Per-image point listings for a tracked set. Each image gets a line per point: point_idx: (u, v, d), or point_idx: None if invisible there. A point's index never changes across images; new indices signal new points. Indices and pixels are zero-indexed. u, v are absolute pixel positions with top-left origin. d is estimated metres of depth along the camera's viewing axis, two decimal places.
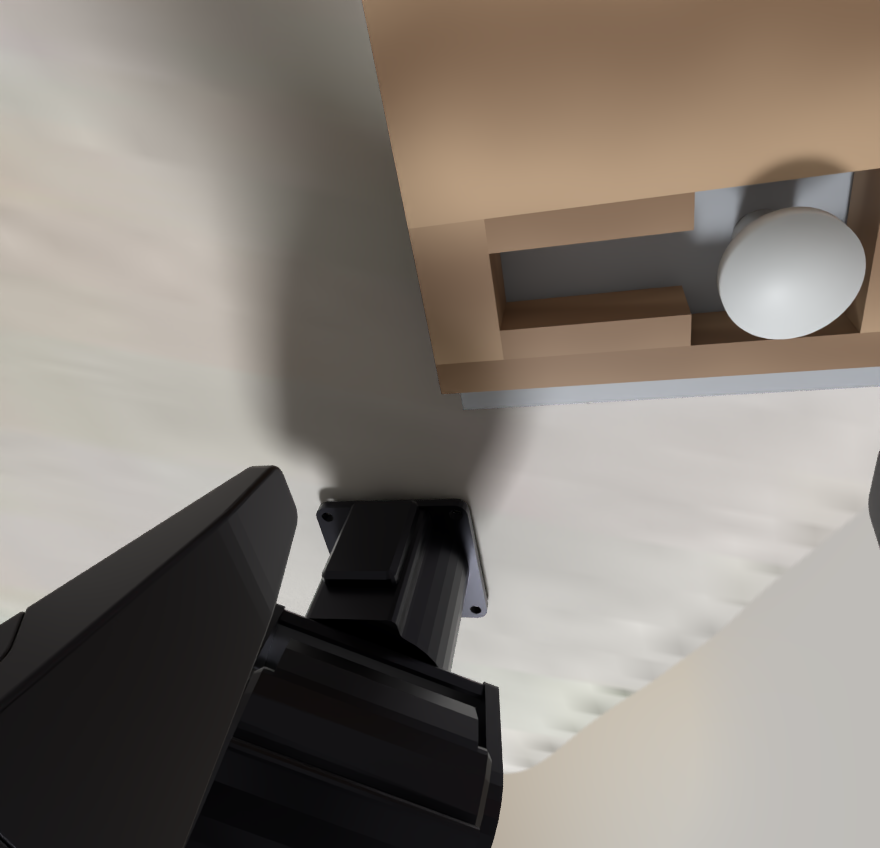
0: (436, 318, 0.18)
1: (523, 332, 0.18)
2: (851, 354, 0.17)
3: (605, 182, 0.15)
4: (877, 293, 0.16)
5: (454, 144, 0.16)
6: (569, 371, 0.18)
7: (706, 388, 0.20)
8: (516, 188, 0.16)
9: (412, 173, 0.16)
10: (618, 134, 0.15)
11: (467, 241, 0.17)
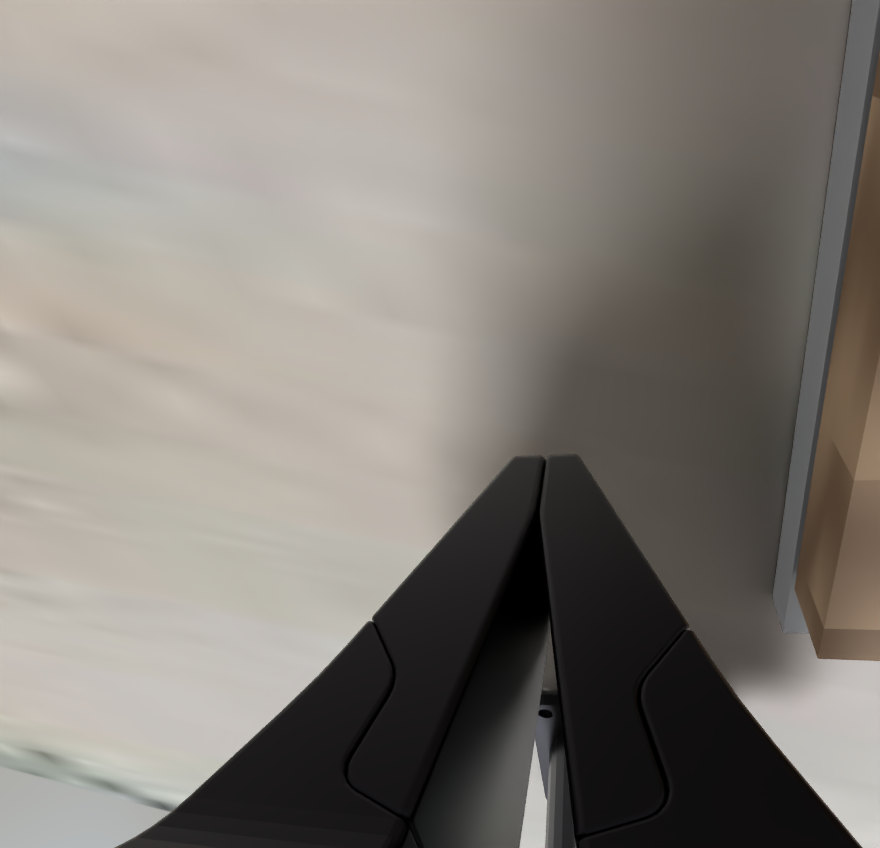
0: (850, 581, 0.13)
1: None
2: None
3: None
4: None
5: None
6: None
7: None
8: None
9: None
10: None
11: None
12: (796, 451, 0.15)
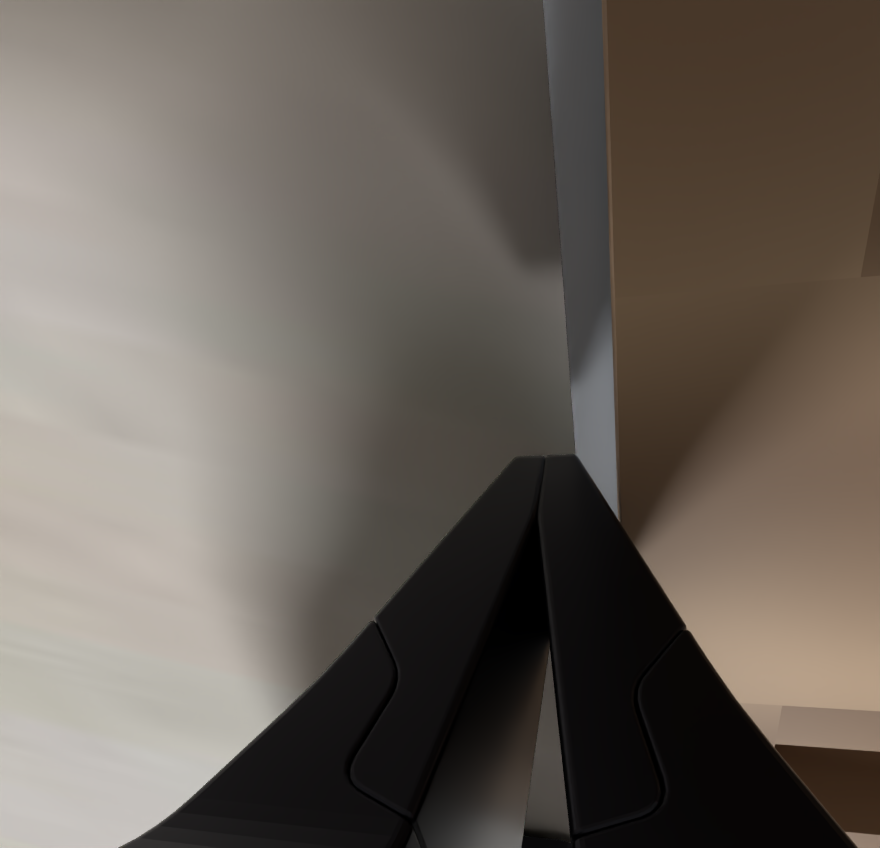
0: None
1: None
2: None
3: None
4: None
5: (757, 609, 0.08)
6: None
7: None
8: (866, 678, 0.08)
9: None
10: None
11: None
12: None
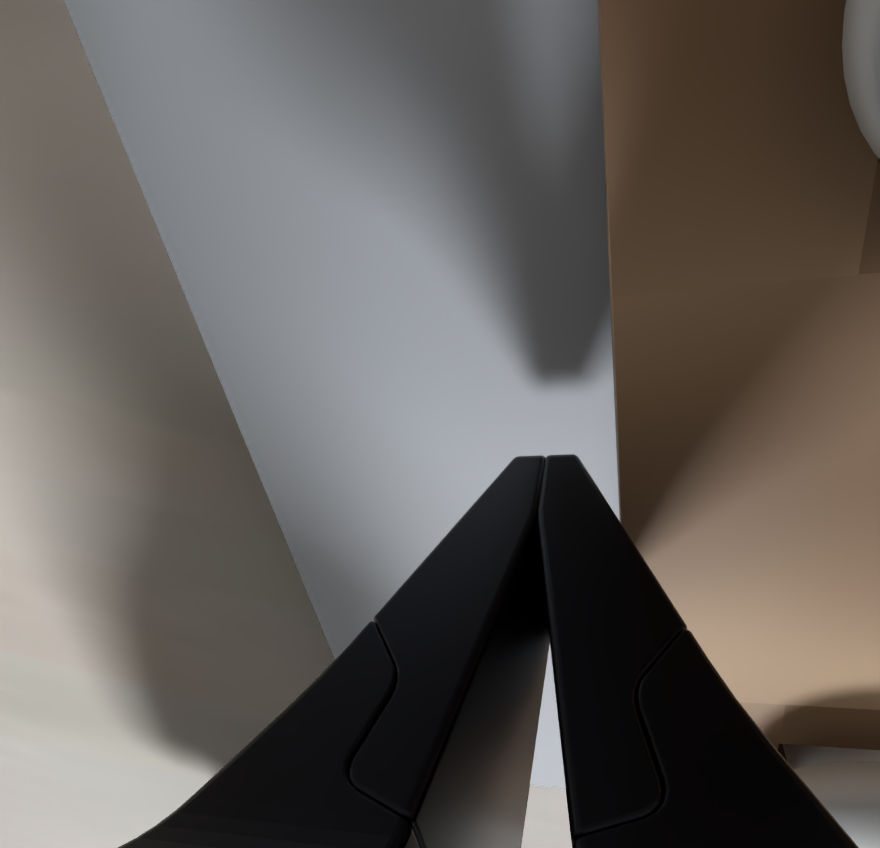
0: None
1: None
2: None
3: None
4: None
5: (759, 609, 0.08)
6: None
7: None
8: (869, 677, 0.08)
9: None
10: None
11: None
12: None
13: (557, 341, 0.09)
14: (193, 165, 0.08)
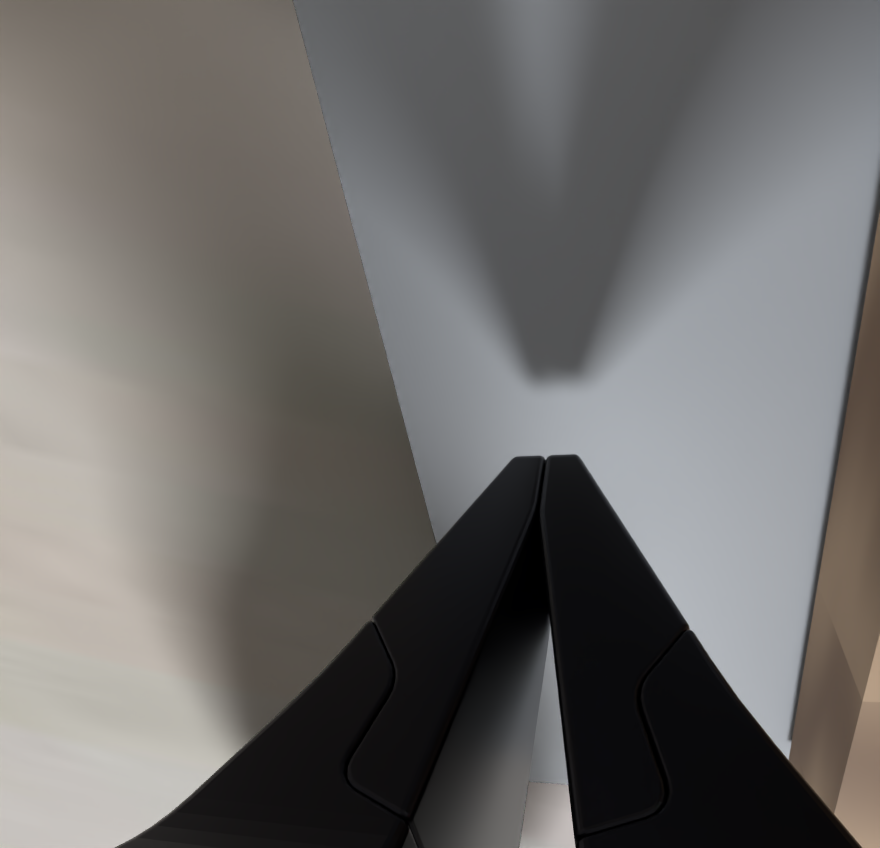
0: (858, 806, 0.10)
1: None
2: None
3: None
4: None
5: None
6: None
7: None
8: None
9: None
10: None
11: None
12: None
13: (787, 314, 0.08)
14: (397, 125, 0.08)
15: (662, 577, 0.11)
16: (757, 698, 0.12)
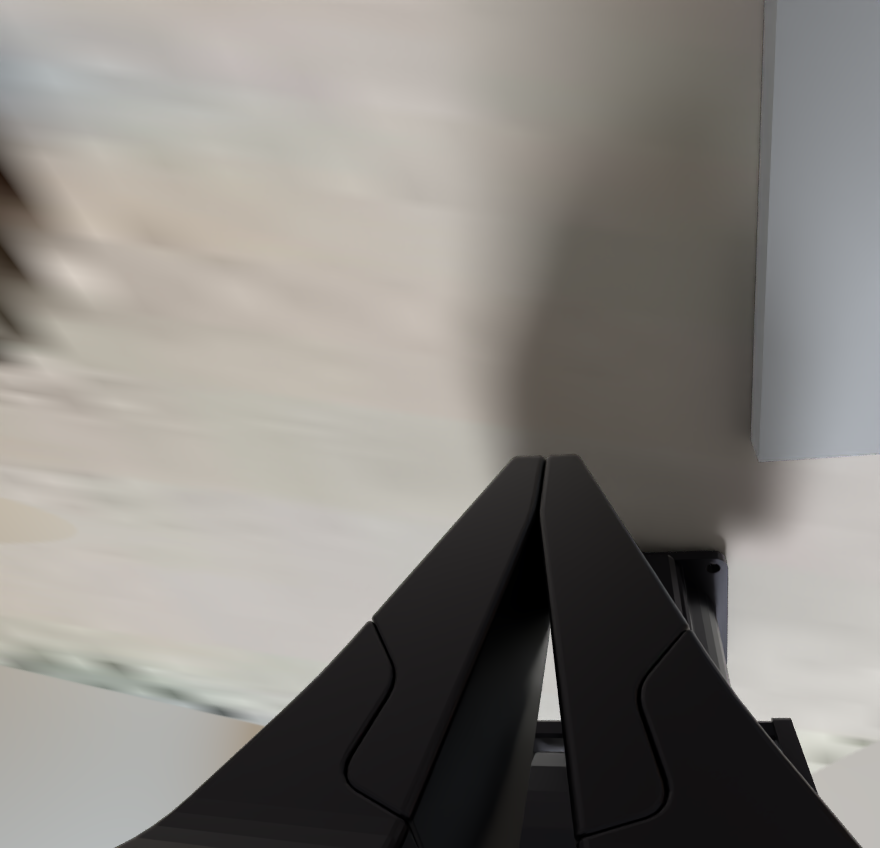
0: None
1: None
2: None
3: None
4: None
5: None
6: None
7: None
8: None
9: None
10: None
11: None
12: (757, 292, 0.18)
13: None
14: None
15: None
16: None
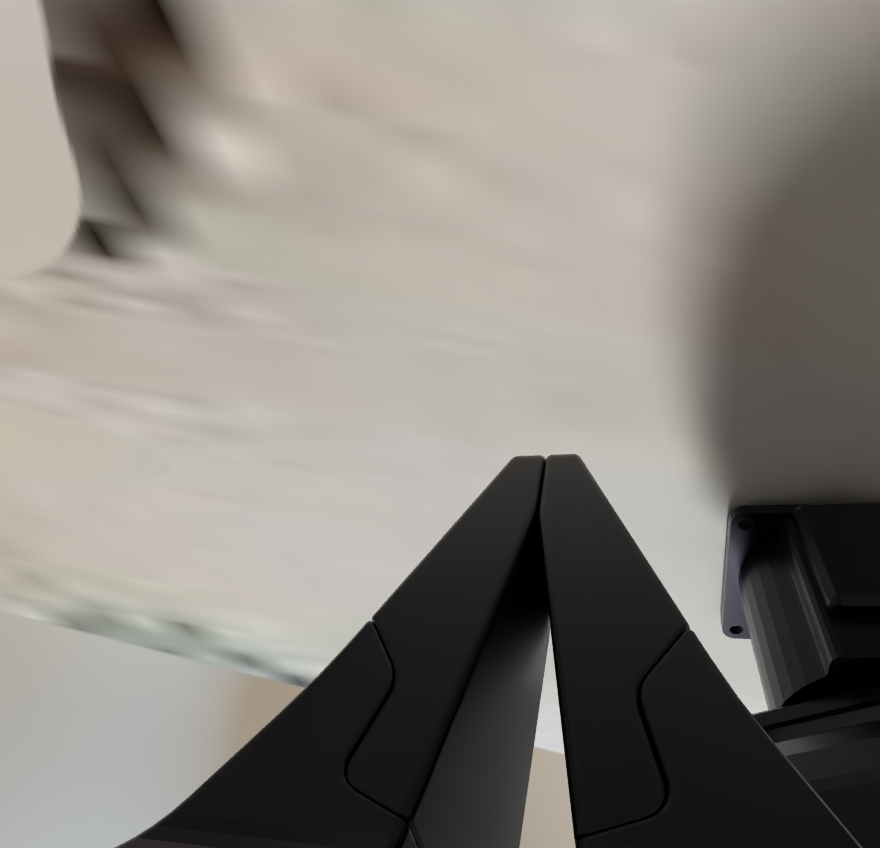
0: None
1: None
2: None
3: None
4: None
5: None
6: None
7: None
8: None
9: None
10: None
11: None
12: None
13: None
14: None
15: None
16: None
